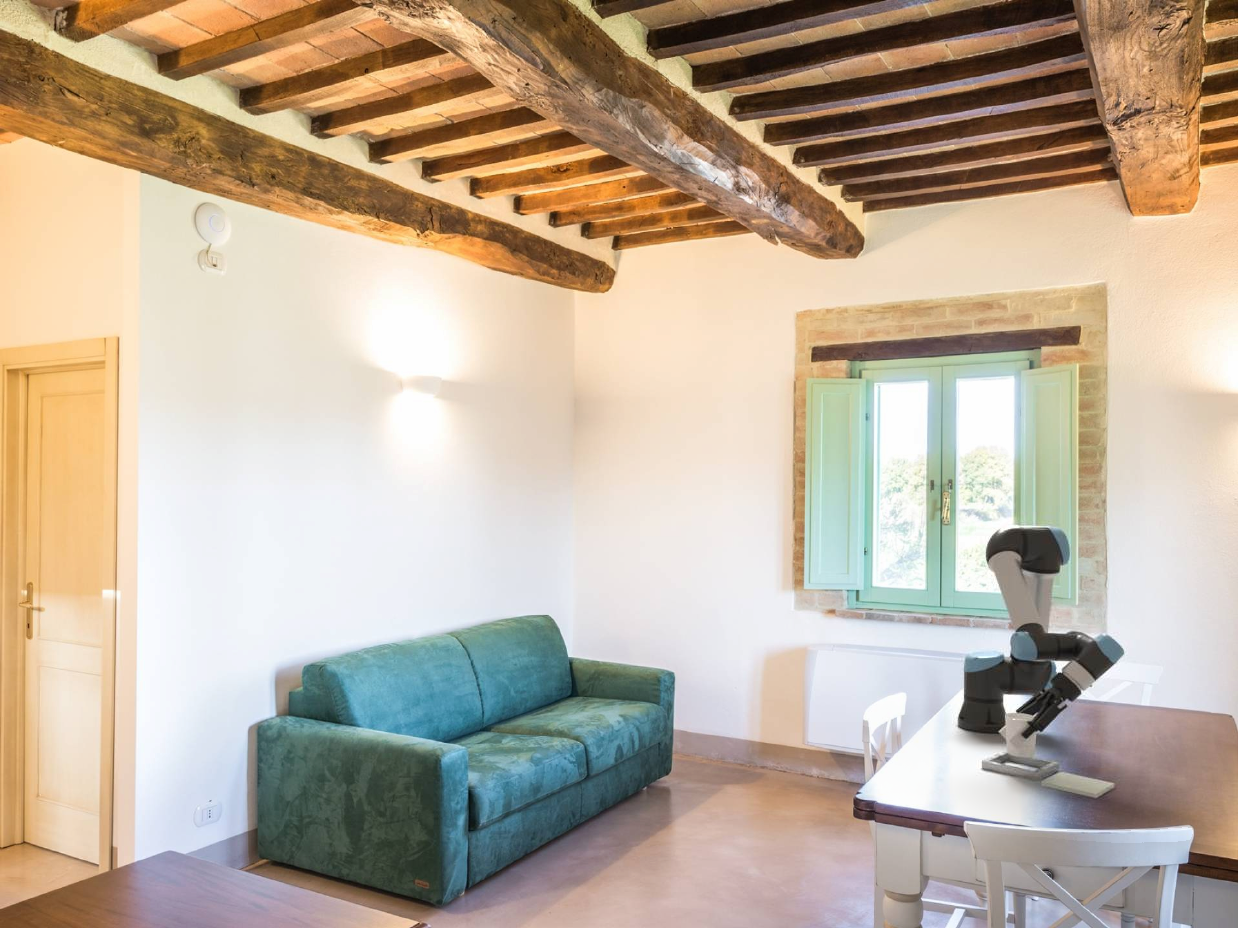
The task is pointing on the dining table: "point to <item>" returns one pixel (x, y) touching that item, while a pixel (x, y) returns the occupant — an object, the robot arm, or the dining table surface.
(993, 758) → the square frame
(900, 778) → the dining table surface
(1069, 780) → the sage tile
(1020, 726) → the white cup
